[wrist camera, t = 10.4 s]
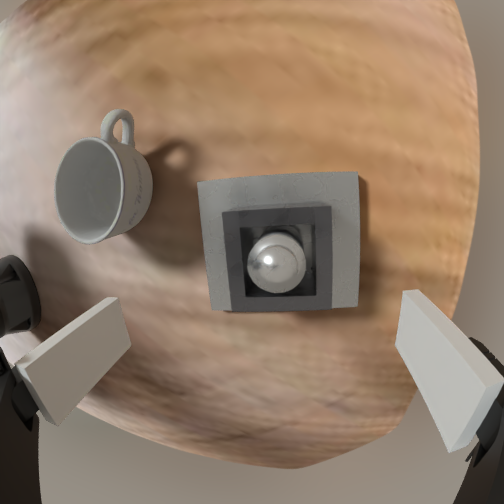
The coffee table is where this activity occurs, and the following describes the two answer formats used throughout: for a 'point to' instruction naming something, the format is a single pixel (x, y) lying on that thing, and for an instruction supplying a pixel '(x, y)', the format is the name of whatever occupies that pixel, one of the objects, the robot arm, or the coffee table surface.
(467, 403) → the robot arm
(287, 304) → the grey square hollow block
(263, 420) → the coffee table surface
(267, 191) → the grey plate with post
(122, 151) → the teacup
